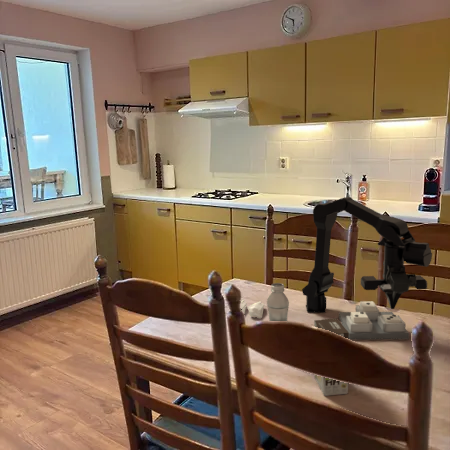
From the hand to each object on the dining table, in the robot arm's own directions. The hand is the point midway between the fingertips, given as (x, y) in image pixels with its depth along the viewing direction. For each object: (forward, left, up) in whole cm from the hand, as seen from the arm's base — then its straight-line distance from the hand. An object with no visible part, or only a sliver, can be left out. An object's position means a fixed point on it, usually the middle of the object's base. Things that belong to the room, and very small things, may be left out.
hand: (392, 308), depth 136 cm
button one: (-5, +9, -5) cm, 12 cm away
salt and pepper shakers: (-45, +19, -9) cm, 49 cm away
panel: (-5, +4, -8) cm, 11 cm away
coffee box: (-24, -30, -8) cm, 39 cm away
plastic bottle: (-36, -10, -8) cm, 38 cm away
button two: (-10, 0, -5) cm, 11 cm away
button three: (0, 0, -6) cm, 6 cm away
